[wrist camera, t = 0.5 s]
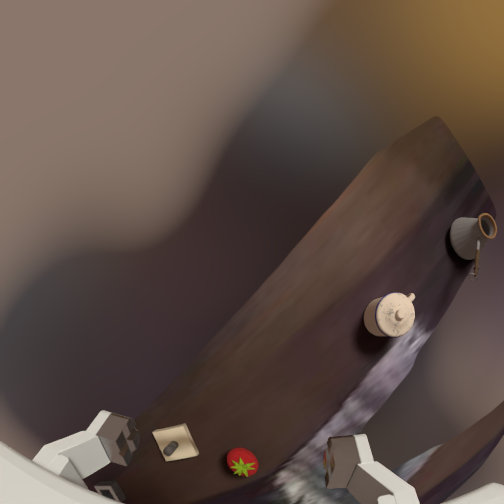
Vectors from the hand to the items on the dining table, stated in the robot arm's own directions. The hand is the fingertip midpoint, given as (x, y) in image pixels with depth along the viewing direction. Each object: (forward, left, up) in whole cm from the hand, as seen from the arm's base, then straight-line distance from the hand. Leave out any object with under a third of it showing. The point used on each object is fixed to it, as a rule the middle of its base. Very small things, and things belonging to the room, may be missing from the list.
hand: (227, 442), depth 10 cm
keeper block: (-14, +26, -53) cm, 60 cm away
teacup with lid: (-3, -29, -53) cm, 60 cm away
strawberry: (-21, +12, -53) cm, 58 cm away
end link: (-26, +52, -53) cm, 78 cm away
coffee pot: (+1, -55, -53) cm, 76 cm away
